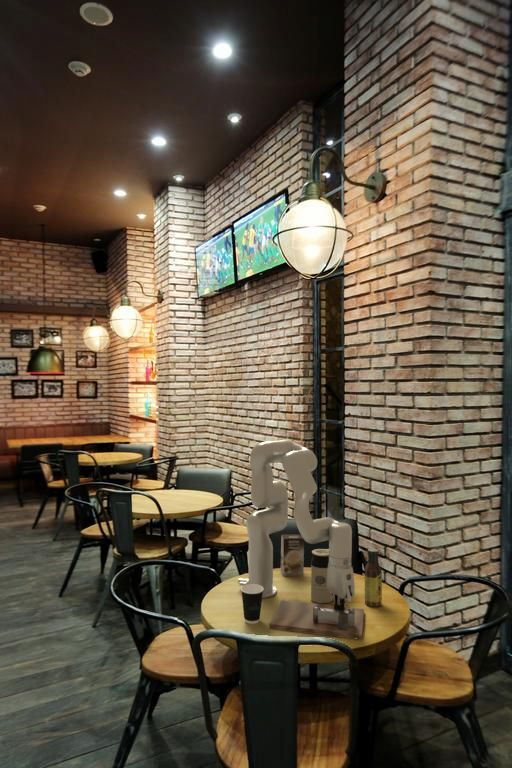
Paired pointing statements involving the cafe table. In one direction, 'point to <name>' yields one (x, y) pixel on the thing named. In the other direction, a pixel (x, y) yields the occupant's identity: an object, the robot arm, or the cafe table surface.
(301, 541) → the coffee box
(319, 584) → the travel mug
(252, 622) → the dixie cup
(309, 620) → the jamb plate
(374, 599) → the sauce bottle
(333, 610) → the bar
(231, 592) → the cafe table surface
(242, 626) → the cafe table surface
